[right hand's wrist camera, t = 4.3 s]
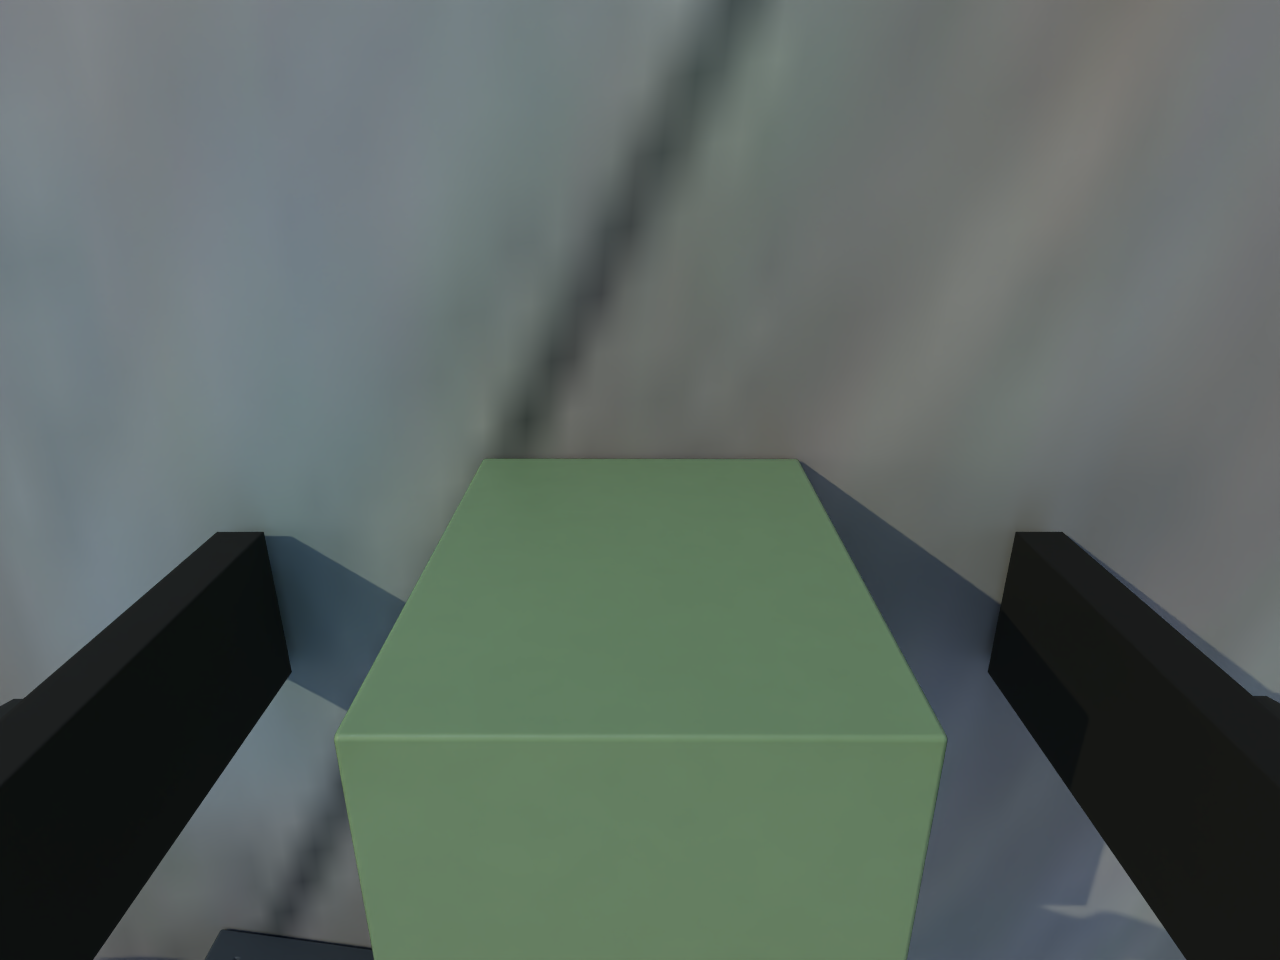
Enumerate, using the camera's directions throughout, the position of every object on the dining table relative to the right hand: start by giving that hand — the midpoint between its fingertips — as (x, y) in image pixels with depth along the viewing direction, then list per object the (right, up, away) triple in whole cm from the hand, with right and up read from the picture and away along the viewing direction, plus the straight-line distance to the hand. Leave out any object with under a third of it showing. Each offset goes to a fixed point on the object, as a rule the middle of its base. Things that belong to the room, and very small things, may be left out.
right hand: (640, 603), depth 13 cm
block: (0, 0, 0) cm, 0 cm away
